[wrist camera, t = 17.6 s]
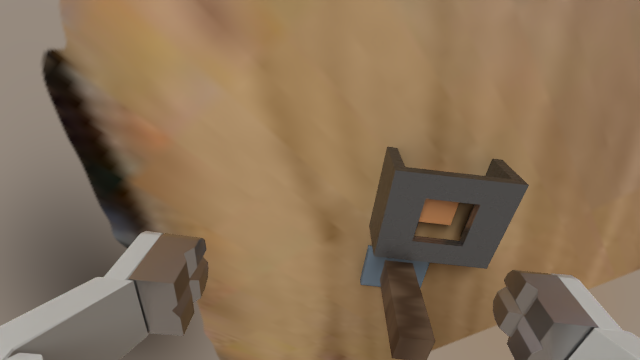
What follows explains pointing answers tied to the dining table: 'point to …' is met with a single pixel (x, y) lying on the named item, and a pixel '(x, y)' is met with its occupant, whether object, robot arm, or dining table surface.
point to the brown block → (405, 312)
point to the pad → (375, 267)
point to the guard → (420, 184)
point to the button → (438, 211)
